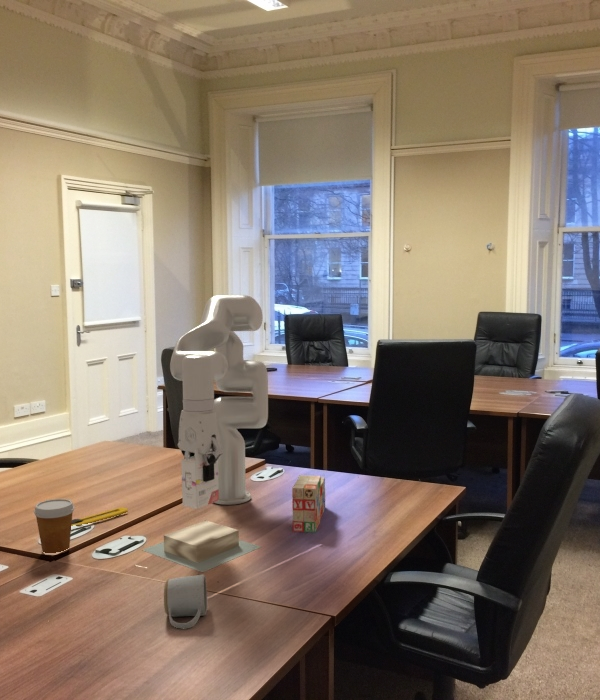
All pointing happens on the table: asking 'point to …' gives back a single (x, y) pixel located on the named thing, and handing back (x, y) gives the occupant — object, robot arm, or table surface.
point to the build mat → (208, 563)
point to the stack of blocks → (308, 502)
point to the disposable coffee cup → (54, 524)
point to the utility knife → (99, 516)
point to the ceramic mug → (185, 599)
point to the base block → (201, 541)
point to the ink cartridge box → (198, 483)
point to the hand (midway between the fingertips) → (200, 477)
